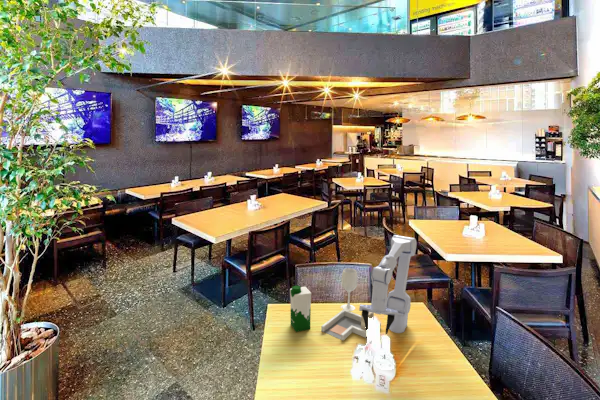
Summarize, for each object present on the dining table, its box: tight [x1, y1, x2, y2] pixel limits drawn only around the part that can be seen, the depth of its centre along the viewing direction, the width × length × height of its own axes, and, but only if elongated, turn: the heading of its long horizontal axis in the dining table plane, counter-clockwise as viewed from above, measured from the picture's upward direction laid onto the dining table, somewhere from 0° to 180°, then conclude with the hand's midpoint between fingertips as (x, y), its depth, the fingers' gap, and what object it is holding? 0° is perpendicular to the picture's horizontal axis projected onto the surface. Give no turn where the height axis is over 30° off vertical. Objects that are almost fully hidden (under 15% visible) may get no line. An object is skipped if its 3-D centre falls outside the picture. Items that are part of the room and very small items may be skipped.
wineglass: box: [339, 267, 359, 312], centre depth 161 cm, size 9×9×21 cm
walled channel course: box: [320, 309, 382, 341], centre depth 142 cm, size 19×20×3 cm
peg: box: [360, 312, 375, 331], centre depth 141 cm, size 4×4×9 cm
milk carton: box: [289, 285, 312, 333], centre depth 144 cm, size 9×9×20 cm
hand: (376, 330), depth 123 cm, fingers open, 7 cm apart
